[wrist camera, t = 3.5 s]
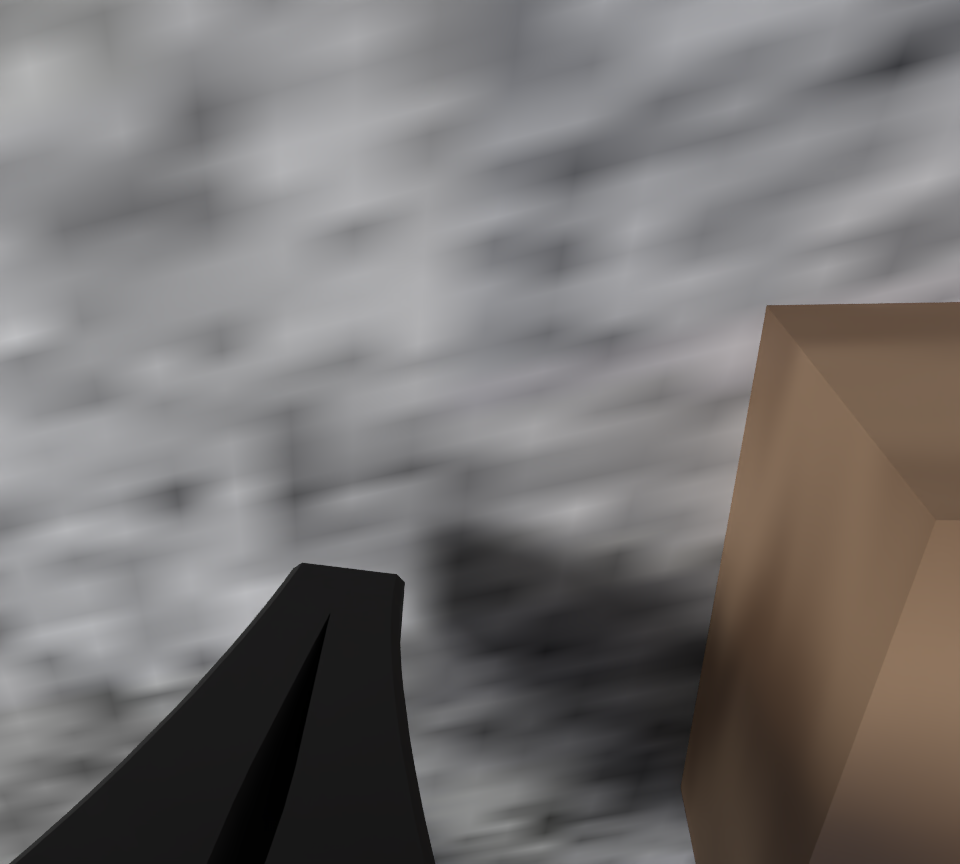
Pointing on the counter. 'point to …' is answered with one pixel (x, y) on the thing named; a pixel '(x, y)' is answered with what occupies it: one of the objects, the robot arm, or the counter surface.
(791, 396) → the walnut block
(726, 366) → the counter surface
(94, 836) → the robot arm
